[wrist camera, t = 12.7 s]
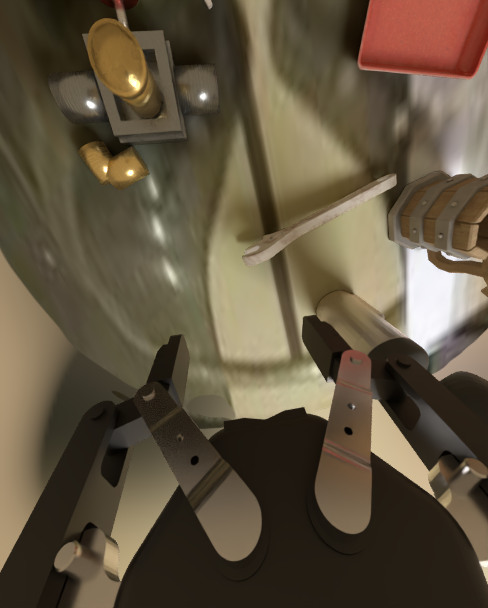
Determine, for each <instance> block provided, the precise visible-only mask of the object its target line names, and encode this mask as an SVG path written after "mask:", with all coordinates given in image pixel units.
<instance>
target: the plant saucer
mask: <svg viewBox="0 0 488 608" xmlns="http://www.w3.org/2000/svg"><path fill="white" fill-rule="evenodd" d="M487 47H488V0H369V5H368V10H367V15H366V20H365V25H364V30H363V35H362V40H361V45H360V50H359V55H358V62H357V64H358V67H359V68H360V69H361V70H371V71H382V72H393V73H404V74H414V75H425V76H436V77H446V78H455V79H465V80H470V79H472V78H473V77H474V76H475V75H476V73H477V71H478V69H479V66H480V64H481V61H482V59H483V56H484V54H485V51H486V49H487Z"/></svg>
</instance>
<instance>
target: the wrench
mask: <svg viewBox="0 0 488 608" xmlns="http://www.w3.org/2000/svg"><path fill="white" fill-rule="evenodd" d="M396 184H397V182H396V174H389V175H386V176H383V177H381V178H379V179H377V180H375V181H373V182H371V183H370V184H368V185H366V186H364V187H362V188H360V189H358V190H357V191H355V192H353V193H351V194H349V195H347V196H345V197H344V198H342V199H340V200H338V201H336V202H334V203H332V204H331V205H329V206H327V207H325V208H323V209H321V210H319V211H318V212H316V213H314V214H312V215H310V216H308V217H306V218H305V219H303V220H301V221H299V222H297V223H295V224H293V225H291V226H289V227H287V228H285V229H282V230H280V231H277V232H274V233H272V234H268V235H264V236H263V239H262V240H260V241H258V242H256V243H254V244H253V245H251V246H250V247H248V248H247V249H246V250H245V252H244V253H245V255H244V256H242V258H243V260H244V262H245V265H246V266H252V265H256V264H259V263H262V262H264V261H266V260H268V259H270V258H272V257H273V256H274V255H276V254H277V253H278V252H279V251H281V250H282V249H283V248H284V247H286V246H287V245H288V244H290V243H291V242H293V241H294V240H296V239H297V238H298V237H300V236H302V235H304V234H305V233H307V232H309V231H311V230H313V229H315V228H317V227H319V226H321V225H322V224H324V223H326V222H328V221H330V220H332V219H334V218H336V217H337V216H339V215H341V214H343V213H345V212H347V211H349V210H351V209H353V208H354V207H356V206H358V205H360V204H362V203H364V202H366V201H368V200H369V199H371V198H373V197H375V196H377V195H379V194H381V193H383V192H385V191H386V190H388V189H390V188H392V187H394V186H395V185H396Z"/></svg>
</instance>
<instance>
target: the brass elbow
mask: <svg viewBox="0 0 488 608" xmlns="http://www.w3.org/2000/svg"><path fill="white" fill-rule="evenodd" d="M78 153H79V154H80V156H81V157H82V159H83V160H84V161H85V163H86V164H87V166H88V167H89V168H90V170H91V171H92V172H93V174H94V175H95V177H96V178H97V179H98V181H99V182H100V184H101V185H107V184H110V183H111V184H112V185H113V186H114V187H115V188H117V189H118V190H123V189H125V188H126V187H128V186H130V185H131V184H133V183H135V182H137V181H138V180H140V179H142V178H144V177H145V176H147V175H149V170H148V168H147V166H146V164H145V162H144V161H143V159H142V158H141V156H140V155H139V153H138V152H137V151H136V150H135V149H134V148H133V147H132V146H131V147H129V148H127V149H126V150H124V151H122V152H121V153H119V154H117V155H116V156H114V157H113V156H112V155H111V153H110V152H109V150H108V148H107V147H106V145H105V144H104V142H102V141H94V142H90V143H88V144H86V145H84V146H82V147H81V148H80V149H79V151H78Z"/></svg>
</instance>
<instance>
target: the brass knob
mask: <svg viewBox="0 0 488 608" xmlns="http://www.w3.org/2000/svg"><path fill="white" fill-rule="evenodd" d="M87 50H88V56H89V59H90V63H91V65H92V68H93V70H94V72H95V73H96V75H97V77H98V78H99V79H100V81H101V82H102V83H103V84H104V85H105V86H106V87H107V88H108V89H109V90H110V91H111V92H112V93H113V94H115V95H116V96H118V97H120V98H121V99H122V100H123V101H124V102H125V103H126V104H127V105H128V106H129V107H130V108H131V109H132V110H133V111H134V112H135V113H136V114H138V115H139V116H141V117H144V118H152V117H154V116H156V115H157V114H158V112H159V111H160V108H161V103H162V98H161V93H160V89H159V87H158V85H157V83H156V81H155V79H154V77H153V75H152V73H151V72H150V70H149V68H148V66H147V61H146V58H145V55H144V53H143V51H142V49H141V47H140V45H139V43H138V41H137V39H136V38H135V36H134V35H133V33H132V32H131V31H130V30H129V29H128V28H127V27H126V26H125V25H123V24H122V23H120V22H119V21H117V20H114V19H111V18H103V19H100V20H98V21H96V22H95V23H94V24H93V25H92V27H91V29H90V31H89V34H88V39H87Z"/></svg>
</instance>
